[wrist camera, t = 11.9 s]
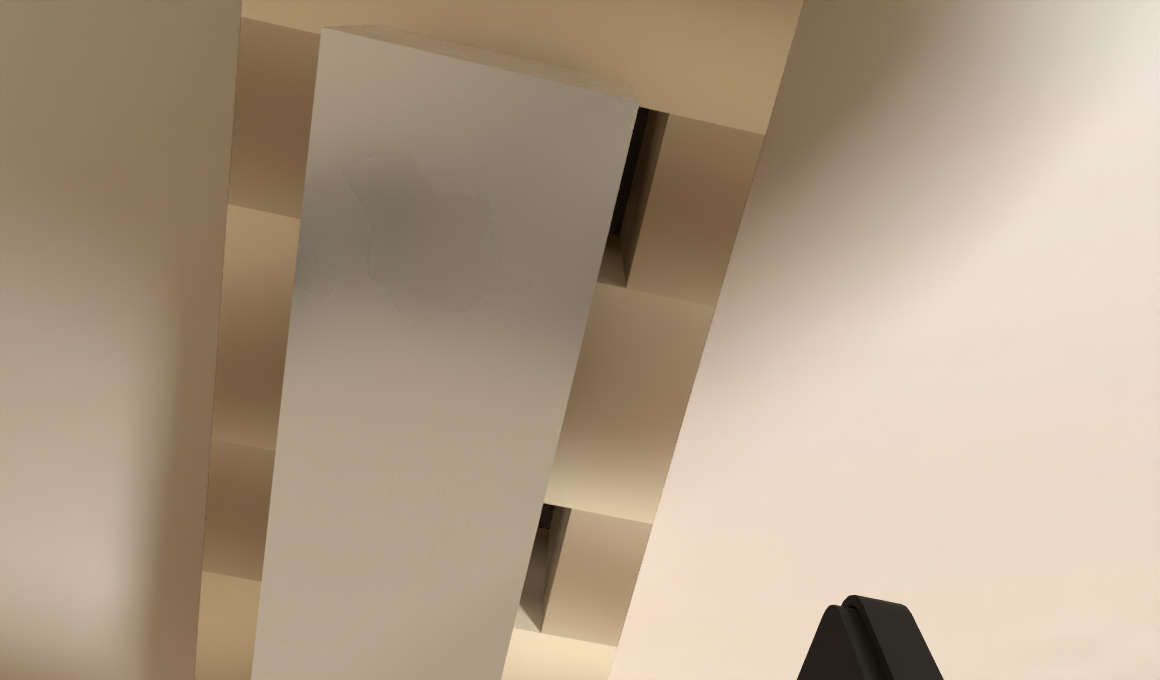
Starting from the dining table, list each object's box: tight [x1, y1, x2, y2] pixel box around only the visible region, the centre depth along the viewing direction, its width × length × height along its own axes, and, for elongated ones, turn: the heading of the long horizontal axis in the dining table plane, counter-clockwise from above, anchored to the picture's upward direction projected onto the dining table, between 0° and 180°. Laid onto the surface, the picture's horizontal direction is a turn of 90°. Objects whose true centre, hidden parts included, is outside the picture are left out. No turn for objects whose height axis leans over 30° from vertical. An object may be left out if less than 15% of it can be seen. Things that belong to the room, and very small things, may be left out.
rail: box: [194, 0, 804, 680], centre depth 18 cm, size 26×9×4 cm, turn 168°
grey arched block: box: [251, 24, 640, 680], centre depth 16 cm, size 12×4×8 cm, turn 167°
